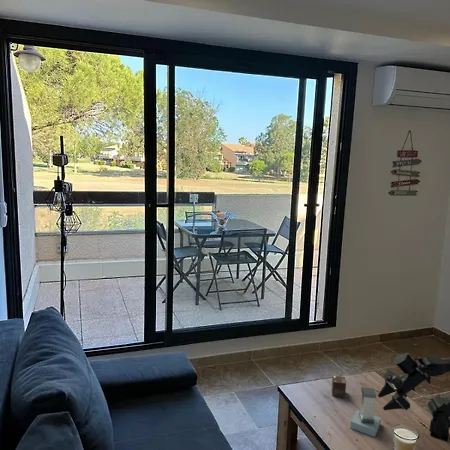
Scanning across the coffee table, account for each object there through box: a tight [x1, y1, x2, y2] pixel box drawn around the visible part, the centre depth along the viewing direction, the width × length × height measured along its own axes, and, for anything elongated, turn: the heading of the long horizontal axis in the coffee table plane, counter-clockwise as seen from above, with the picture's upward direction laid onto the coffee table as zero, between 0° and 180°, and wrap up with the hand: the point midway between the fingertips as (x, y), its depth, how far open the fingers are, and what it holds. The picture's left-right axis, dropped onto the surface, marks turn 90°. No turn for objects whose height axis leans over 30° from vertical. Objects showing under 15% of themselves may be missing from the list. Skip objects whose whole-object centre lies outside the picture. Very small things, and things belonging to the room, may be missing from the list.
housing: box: [359, 387, 377, 424], centre depth 171 cm, size 5×5×13 cm
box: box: [331, 375, 347, 398], centre depth 196 cm, size 6×6×7 cm
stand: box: [350, 409, 382, 438], centre depth 172 cm, size 10×10×3 cm
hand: (380, 402), depth 170 cm, fingers open, 9 cm apart
